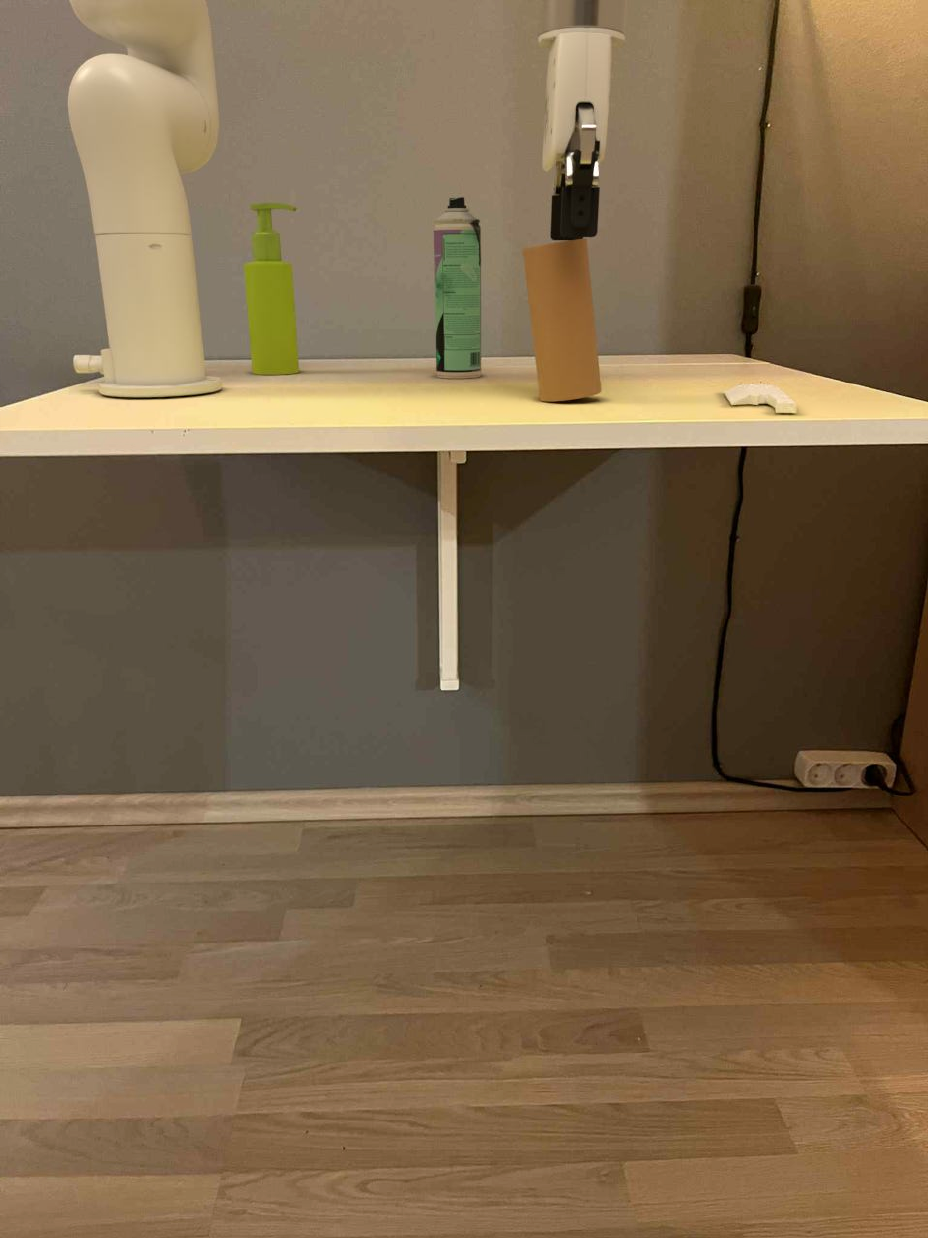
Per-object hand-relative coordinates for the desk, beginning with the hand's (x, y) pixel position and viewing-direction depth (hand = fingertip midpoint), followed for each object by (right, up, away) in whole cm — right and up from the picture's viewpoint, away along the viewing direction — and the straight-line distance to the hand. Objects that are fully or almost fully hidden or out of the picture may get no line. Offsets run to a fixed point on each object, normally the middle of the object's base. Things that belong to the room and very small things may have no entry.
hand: (572, 238), depth 88 cm
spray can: (-11, -6, +28) cm, 30 cm away
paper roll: (-4, -7, +3) cm, 9 cm away
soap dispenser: (-34, -4, +34) cm, 48 cm away
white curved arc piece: (+17, -15, +1) cm, 23 cm away
